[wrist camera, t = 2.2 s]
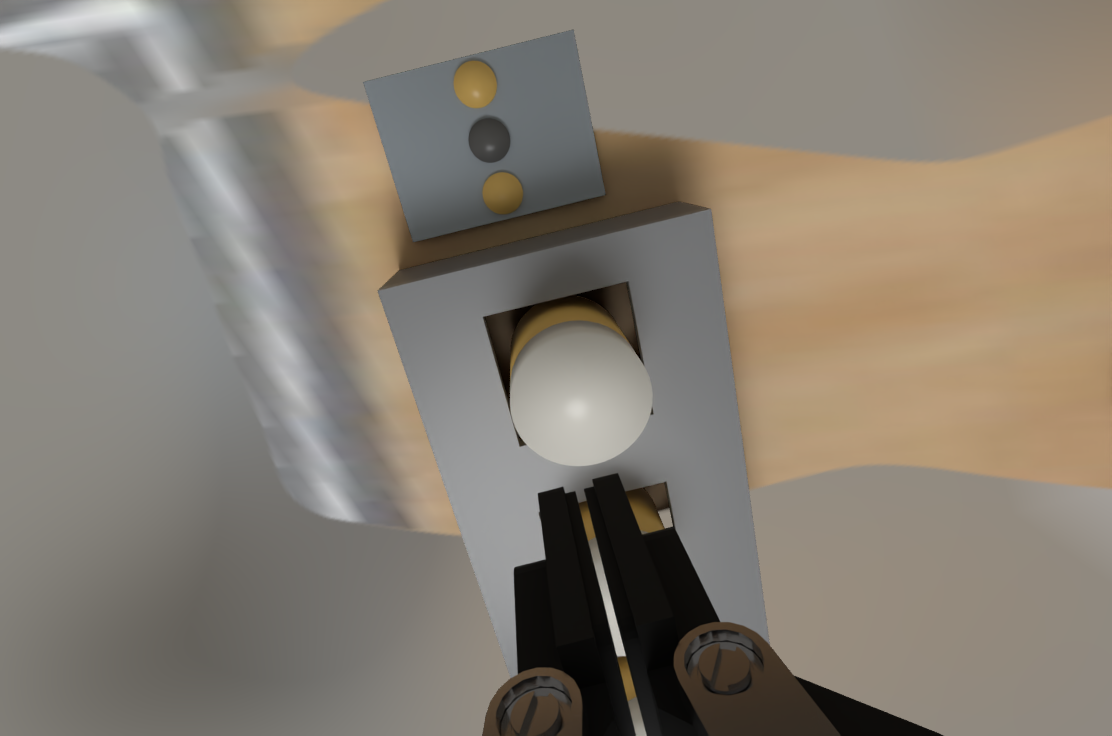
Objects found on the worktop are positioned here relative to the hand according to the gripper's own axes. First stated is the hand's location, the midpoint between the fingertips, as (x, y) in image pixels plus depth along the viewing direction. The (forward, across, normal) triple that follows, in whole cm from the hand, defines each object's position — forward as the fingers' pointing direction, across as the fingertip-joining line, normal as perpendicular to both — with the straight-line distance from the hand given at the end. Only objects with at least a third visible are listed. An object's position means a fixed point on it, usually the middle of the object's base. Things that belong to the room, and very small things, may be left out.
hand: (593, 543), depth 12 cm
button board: (+15, -1, +9) cm, 17 cm away
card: (+15, 0, -8) cm, 17 cm away
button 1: (+13, -1, 0) cm, 13 cm away
